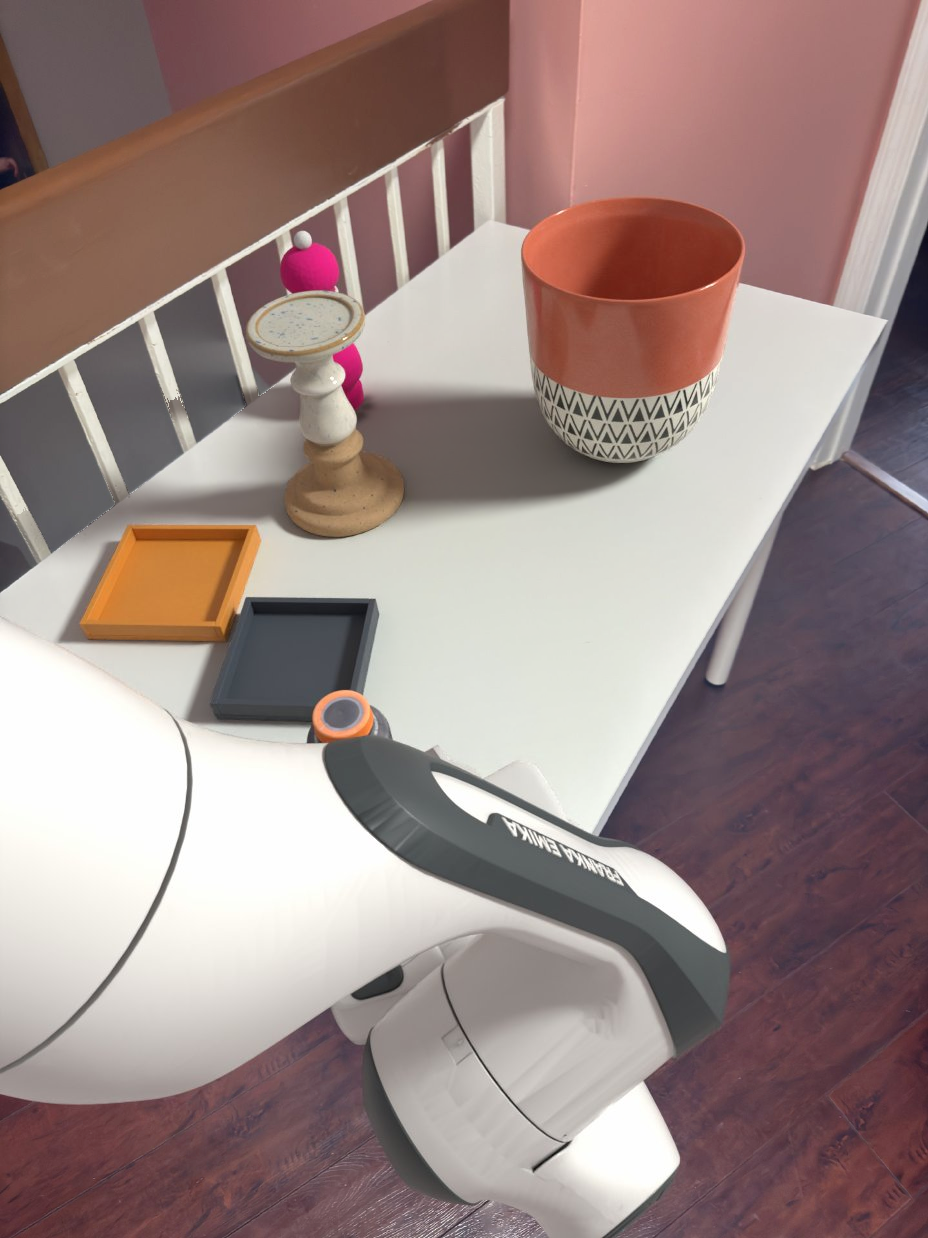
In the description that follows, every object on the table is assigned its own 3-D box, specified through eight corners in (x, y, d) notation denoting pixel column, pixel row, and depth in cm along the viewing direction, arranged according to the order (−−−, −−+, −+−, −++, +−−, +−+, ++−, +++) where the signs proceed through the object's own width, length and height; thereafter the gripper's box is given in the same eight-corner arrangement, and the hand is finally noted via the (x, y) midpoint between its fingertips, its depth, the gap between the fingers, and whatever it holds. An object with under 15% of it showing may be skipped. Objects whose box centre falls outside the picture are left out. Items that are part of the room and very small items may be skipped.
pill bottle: (350, 757, 72) (322, 667, 64) (418, 777, 71) (399, 688, 62) (315, 820, 69) (281, 734, 60) (386, 843, 67) (361, 758, 59)
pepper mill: (380, 392, 106) (351, 222, 91) (343, 426, 102) (306, 254, 87) (332, 377, 109) (296, 210, 94) (293, 409, 105) (249, 240, 90)
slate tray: (216, 719, 76) (209, 704, 74) (251, 612, 84) (245, 596, 82) (357, 723, 74) (353, 707, 73) (379, 614, 82) (376, 598, 81)
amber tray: (87, 639, 83) (78, 624, 82) (135, 539, 92) (127, 524, 90) (226, 641, 82) (220, 626, 80) (261, 540, 90) (256, 524, 89)
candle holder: (306, 456, 99) (261, 282, 84) (416, 463, 96) (390, 284, 82) (270, 534, 91) (212, 356, 76) (389, 542, 89) (353, 361, 74)
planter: (496, 474, 94) (483, 278, 78) (569, 373, 105) (571, 184, 89) (679, 522, 87) (705, 318, 71) (737, 409, 98) (771, 211, 82)
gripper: (613, 842, 56) (495, 691, 64) (309, 1024, 50) (223, 833, 58) (608, 888, 60) (499, 742, 69) (330, 1060, 55) (247, 878, 63)
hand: (370, 785), depth 64 cm, fingers open, 8 cm apart
